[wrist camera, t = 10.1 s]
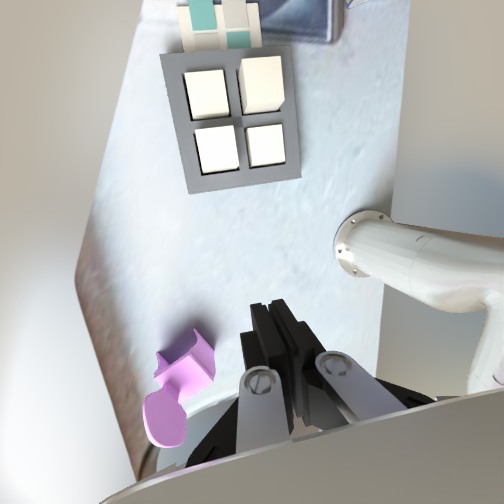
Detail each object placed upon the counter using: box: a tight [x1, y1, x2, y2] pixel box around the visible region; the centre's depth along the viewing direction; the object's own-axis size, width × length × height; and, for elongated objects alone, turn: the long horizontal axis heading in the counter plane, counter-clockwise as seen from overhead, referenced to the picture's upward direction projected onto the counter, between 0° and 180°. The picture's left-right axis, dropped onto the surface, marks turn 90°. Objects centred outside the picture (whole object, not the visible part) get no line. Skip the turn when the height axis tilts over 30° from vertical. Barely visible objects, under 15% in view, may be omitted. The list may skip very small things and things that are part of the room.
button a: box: [245, 124, 285, 168], centre depth 34 cm, size 5×5×4 cm
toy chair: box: [143, 328, 215, 447], centre depth 36 cm, size 8×9×15 cm
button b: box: [195, 125, 239, 173], centre depth 31 cm, size 5×5×4 cm
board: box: [159, 0, 302, 194], centre depth 33 cm, size 17×24×4 cm
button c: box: [238, 56, 285, 115], centre depth 30 cm, size 5×5×4 cm
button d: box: [184, 70, 229, 121], centre depth 32 cm, size 5×5×4 cm
